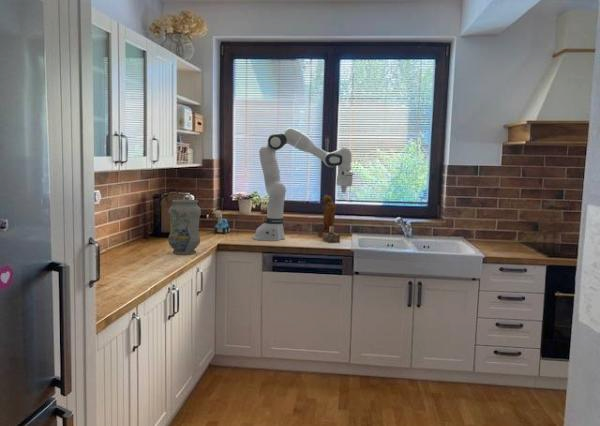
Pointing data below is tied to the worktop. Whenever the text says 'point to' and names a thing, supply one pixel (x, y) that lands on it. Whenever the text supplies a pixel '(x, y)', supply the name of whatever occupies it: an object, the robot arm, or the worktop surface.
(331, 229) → the beech peg
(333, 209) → the sculpture
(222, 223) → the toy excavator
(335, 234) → the walnut seat board
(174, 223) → the vase
